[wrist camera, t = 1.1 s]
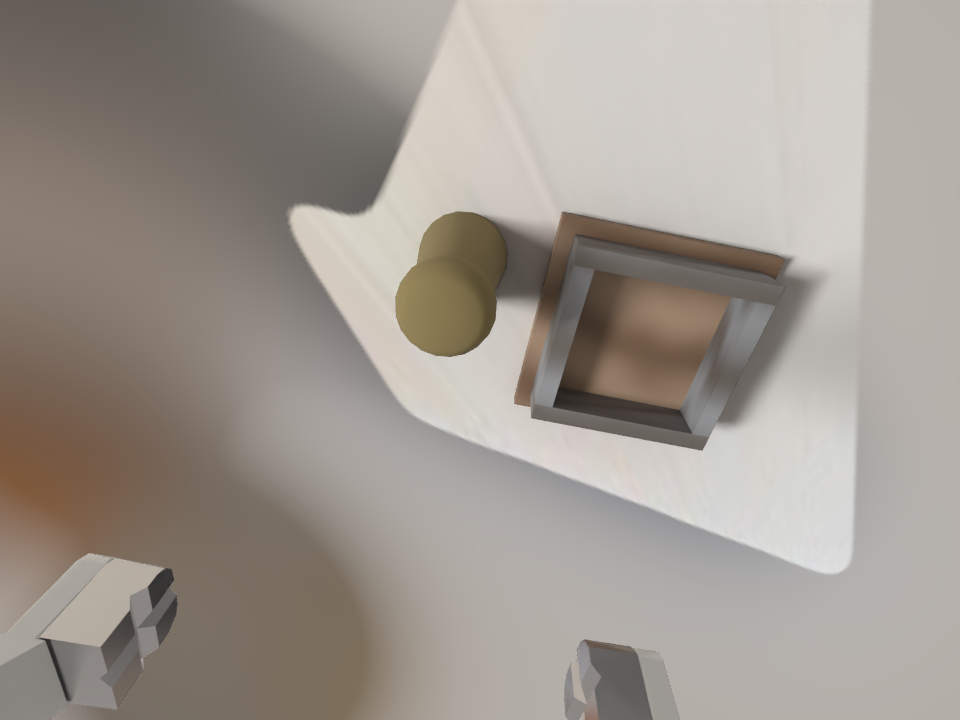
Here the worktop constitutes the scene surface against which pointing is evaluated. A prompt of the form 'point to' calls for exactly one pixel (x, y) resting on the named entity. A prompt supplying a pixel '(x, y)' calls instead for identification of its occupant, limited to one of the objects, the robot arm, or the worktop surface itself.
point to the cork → (452, 285)
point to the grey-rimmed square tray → (643, 330)
